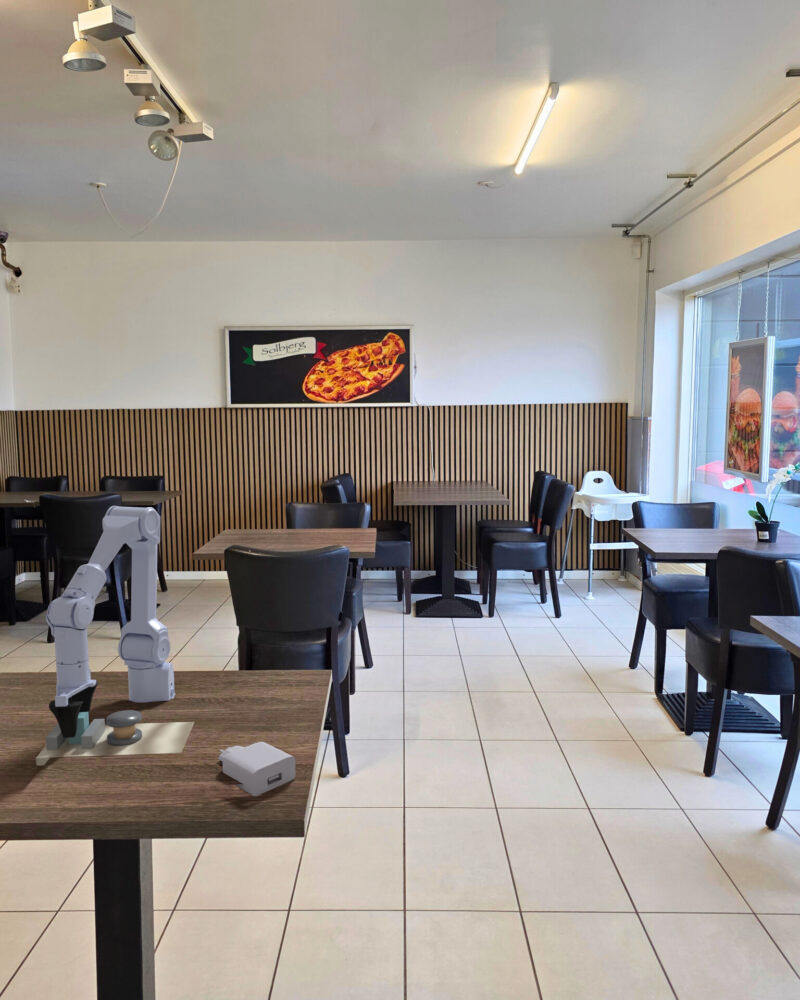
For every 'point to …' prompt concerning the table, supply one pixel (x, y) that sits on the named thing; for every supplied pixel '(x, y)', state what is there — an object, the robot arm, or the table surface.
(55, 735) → the gray parallel rails
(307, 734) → the table surface
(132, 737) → the bobbin
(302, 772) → the table surface
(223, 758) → the charger
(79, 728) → the peg
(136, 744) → the board
